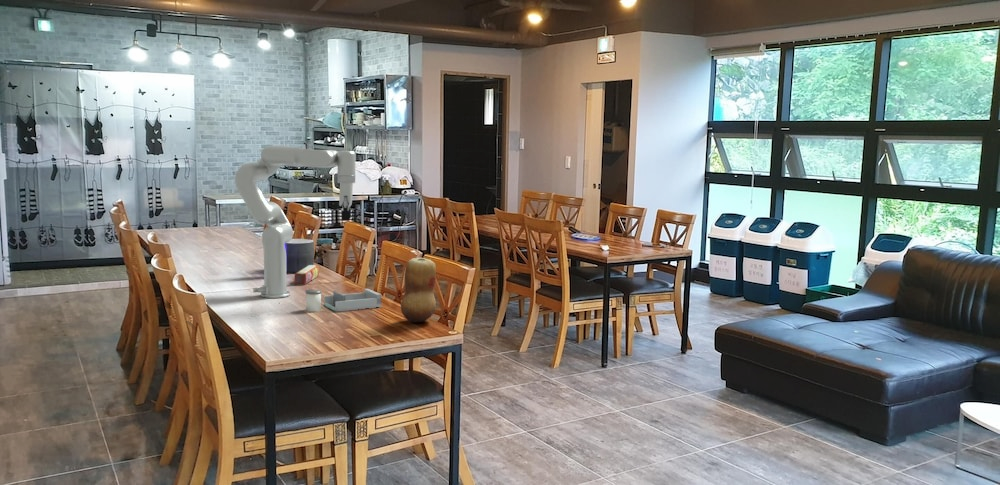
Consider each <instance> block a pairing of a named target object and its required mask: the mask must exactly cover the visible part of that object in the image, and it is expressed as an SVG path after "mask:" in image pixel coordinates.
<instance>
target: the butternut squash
mask: <svg viewBox="0 0 1000 485" xmlns="http://www.w3.org/2000/svg"><path fill="white" fill-rule="evenodd" d="M436 271H437V267H436V263H435V262H434V261H433V260H431V259H428V258H425V257H413V258H411V259H409V260H408V261H407V263H406V266H405V270H404V294H403V297H402V299H401V303H400V312H401V314H402V315H403V317H404V318H405V319H406V320H407V321H408V322H410V323H423V322H426V321H427V320H428V319H430V318H431V317H432V316H433V315H434V314H435V312H436V308H437V306H436V304H437V301H436V298H435V294H434V290H435V285H436V281H437V279H436V278H437V276H436V275H437V272H436Z"/></svg>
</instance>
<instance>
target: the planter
mask: <svg viewBox="0 0 1000 485" xmlns="http://www.w3.org/2000/svg"><path fill="white" fill-rule="evenodd" d="M286 245H287V272H286V274H296V273H297V272H299V271H300V270H302V269H304V268H305V267H307V266H308V265H315V264H314V262H315V261H314V260H315V257H314V256H315V255H314V254H315V253H314V252H315V251H314V248H315V241H314V240H312V239H309V238H307V239H306V238H292V239H291V240H290V241H289V242H287V243H286Z"/></svg>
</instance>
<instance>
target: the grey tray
mask: <svg viewBox="0 0 1000 485" xmlns="http://www.w3.org/2000/svg"><path fill="white" fill-rule="evenodd" d="M341 294H342V295H345V301H338V302H335V305H334V304H333V294H332V295H324V296H323V306H324V307H326V308H328V309H330V310H331V311H333V312H337V313H338V312H339V313H340V312H347V311H354V310H355V311H357V310H358V309H359V310H366V309H365V308H369V309H376V307H379V308H382V294H381V293H379V292H376V291H375V290H372V289H370V288H365V289H363V292H354V293H341Z"/></svg>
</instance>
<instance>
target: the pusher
mask: <svg viewBox="0 0 1000 485" xmlns="http://www.w3.org/2000/svg"><path fill="white" fill-rule="evenodd" d="M342 294H343V293H340V292H338V291H336V290H333V292H332V295H333V304H334V305H333V306H335V302H338V301H345V295H342Z"/></svg>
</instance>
